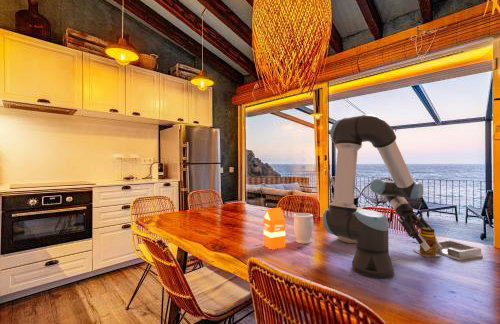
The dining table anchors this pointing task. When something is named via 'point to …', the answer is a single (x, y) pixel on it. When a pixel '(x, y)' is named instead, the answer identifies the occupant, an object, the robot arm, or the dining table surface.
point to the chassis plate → (458, 250)
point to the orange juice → (274, 228)
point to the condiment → (428, 242)
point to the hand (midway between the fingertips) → (433, 248)
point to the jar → (303, 227)
